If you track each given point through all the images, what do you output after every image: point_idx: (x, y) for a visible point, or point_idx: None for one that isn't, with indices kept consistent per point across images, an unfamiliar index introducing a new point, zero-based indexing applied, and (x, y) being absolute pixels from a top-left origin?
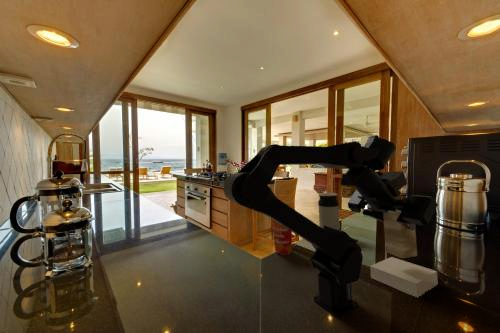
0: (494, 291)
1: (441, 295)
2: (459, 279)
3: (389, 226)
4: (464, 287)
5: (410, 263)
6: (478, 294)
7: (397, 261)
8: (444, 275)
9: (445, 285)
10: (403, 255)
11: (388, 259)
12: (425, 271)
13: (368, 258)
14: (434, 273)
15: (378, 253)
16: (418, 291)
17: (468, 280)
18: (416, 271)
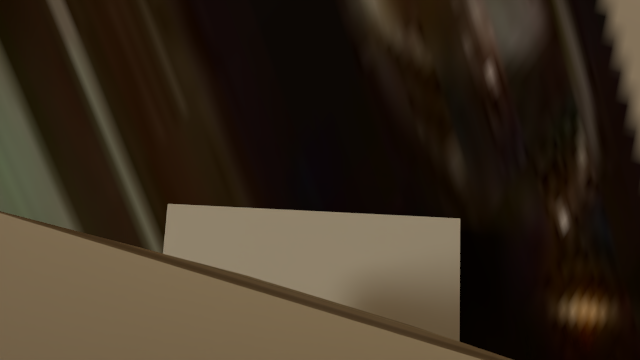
0: (623, 81)
1: (497, 352)
2: (486, 65)
3: None
4: (531, 151)
5: (306, 220)
6: (593, 181)
7: (233, 259)
8: (422, 73)
9: (468, 207)
10: None
11: None
12: (418, 282)
13: (8, 189)
14: (459, 258)
15: (19, 40)
16: None
17: (516, 41)
18: None
